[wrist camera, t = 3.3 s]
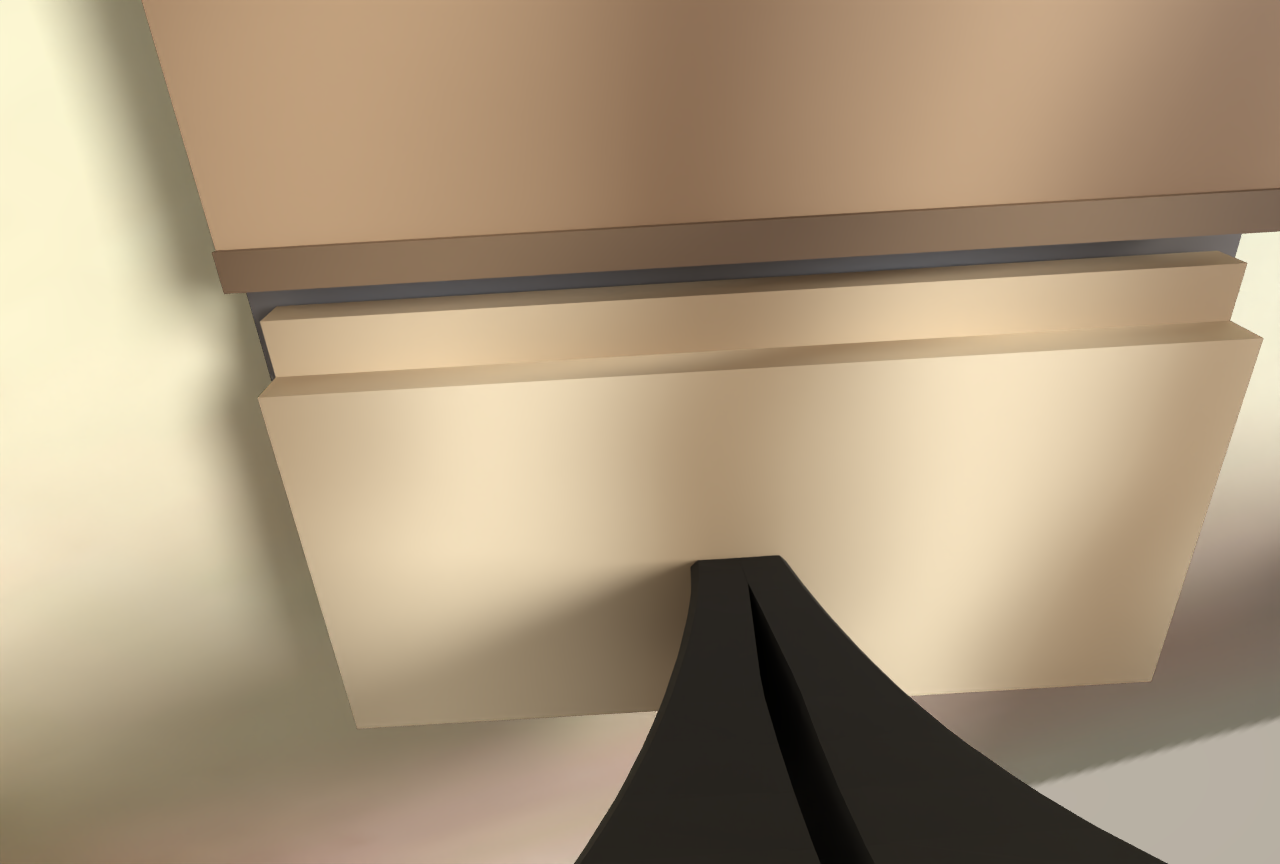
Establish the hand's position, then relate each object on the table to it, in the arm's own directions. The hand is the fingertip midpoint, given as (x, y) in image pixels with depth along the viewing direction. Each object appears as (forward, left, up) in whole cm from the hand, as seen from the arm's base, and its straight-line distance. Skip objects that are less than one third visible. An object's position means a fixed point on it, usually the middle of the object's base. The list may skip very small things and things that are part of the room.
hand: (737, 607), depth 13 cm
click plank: (0, -1, -1) cm, 2 cm away
